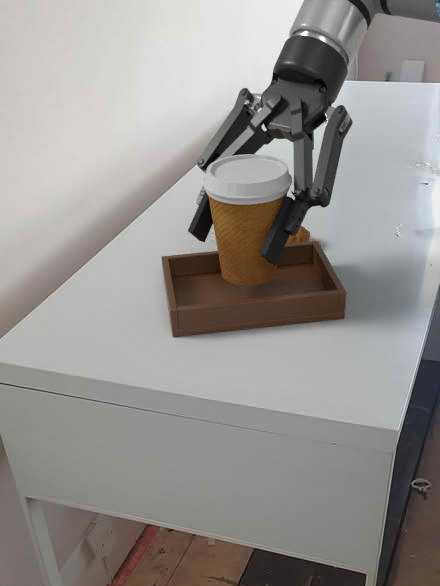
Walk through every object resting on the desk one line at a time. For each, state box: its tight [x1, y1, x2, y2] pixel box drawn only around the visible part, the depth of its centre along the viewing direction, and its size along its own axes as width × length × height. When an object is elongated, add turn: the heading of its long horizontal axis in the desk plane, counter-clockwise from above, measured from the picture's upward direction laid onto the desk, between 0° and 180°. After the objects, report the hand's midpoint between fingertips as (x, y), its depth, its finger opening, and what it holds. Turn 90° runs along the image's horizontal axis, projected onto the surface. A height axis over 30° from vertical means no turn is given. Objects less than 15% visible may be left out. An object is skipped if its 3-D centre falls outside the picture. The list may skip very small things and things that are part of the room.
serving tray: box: [160, 240, 347, 338], centre depth 85 cm, size 20×14×3 cm
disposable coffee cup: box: [202, 153, 293, 286], centre depth 79 cm, size 10×10×12 cm
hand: (230, 247), depth 79 cm, fingers closed on disposable coffee cup, 9 cm apart
